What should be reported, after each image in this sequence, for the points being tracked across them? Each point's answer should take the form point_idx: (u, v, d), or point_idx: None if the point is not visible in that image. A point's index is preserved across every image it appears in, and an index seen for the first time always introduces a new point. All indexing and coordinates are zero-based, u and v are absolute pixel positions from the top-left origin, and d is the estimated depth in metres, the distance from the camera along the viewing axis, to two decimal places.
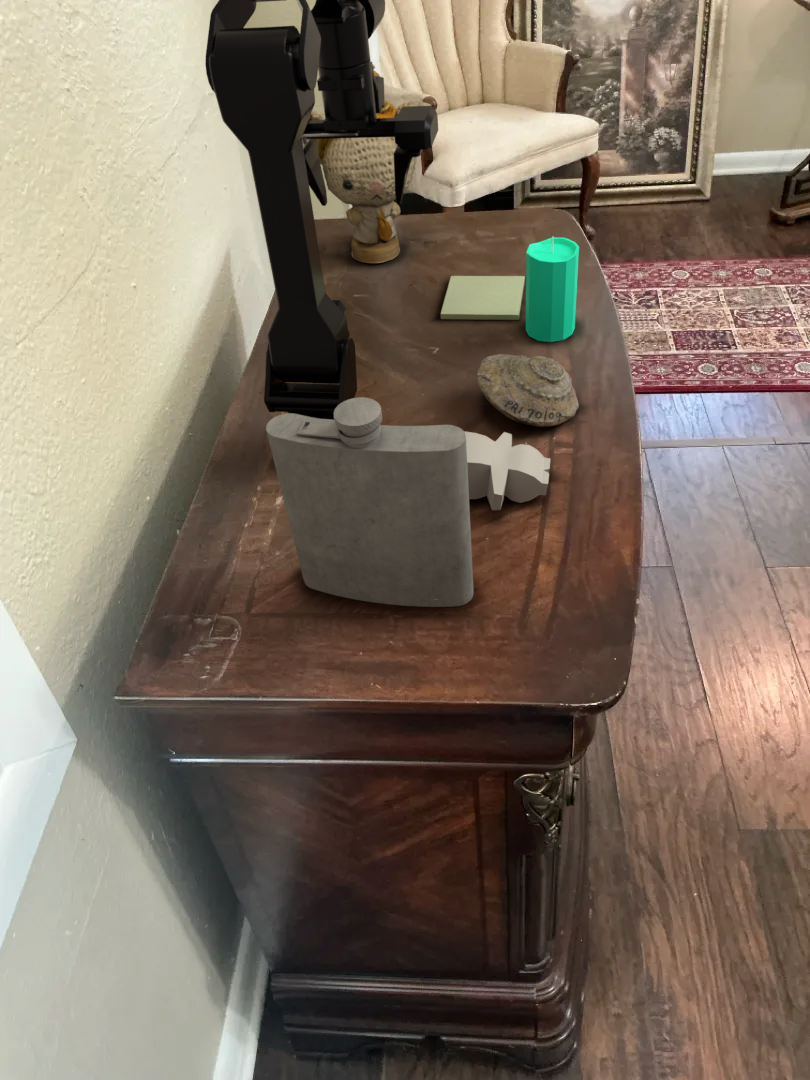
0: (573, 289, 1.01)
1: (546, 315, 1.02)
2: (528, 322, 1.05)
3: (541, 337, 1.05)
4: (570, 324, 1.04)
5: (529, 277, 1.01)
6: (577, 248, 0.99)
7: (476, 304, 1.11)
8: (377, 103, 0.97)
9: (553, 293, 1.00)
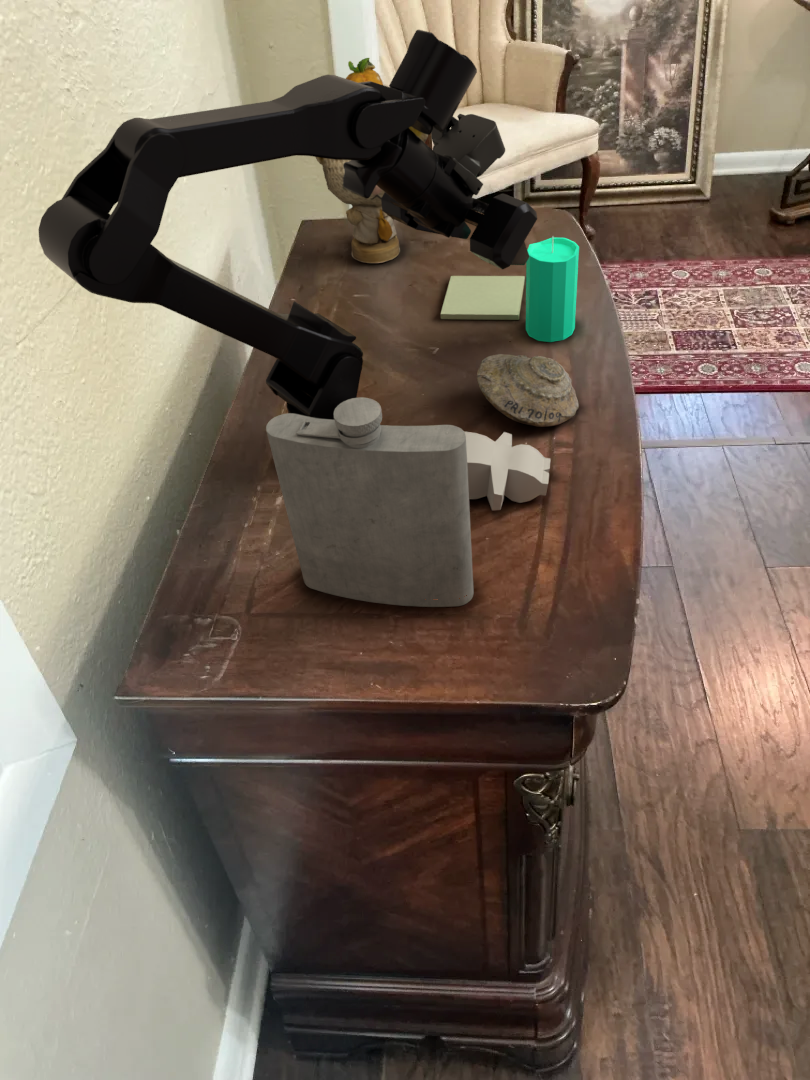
0: (573, 289, 1.01)
1: (546, 315, 1.02)
2: (528, 322, 1.05)
3: (541, 337, 1.05)
4: (570, 324, 1.04)
5: (529, 277, 1.01)
6: (577, 248, 0.99)
7: (476, 304, 1.11)
8: (470, 189, 0.85)
9: (553, 293, 1.00)
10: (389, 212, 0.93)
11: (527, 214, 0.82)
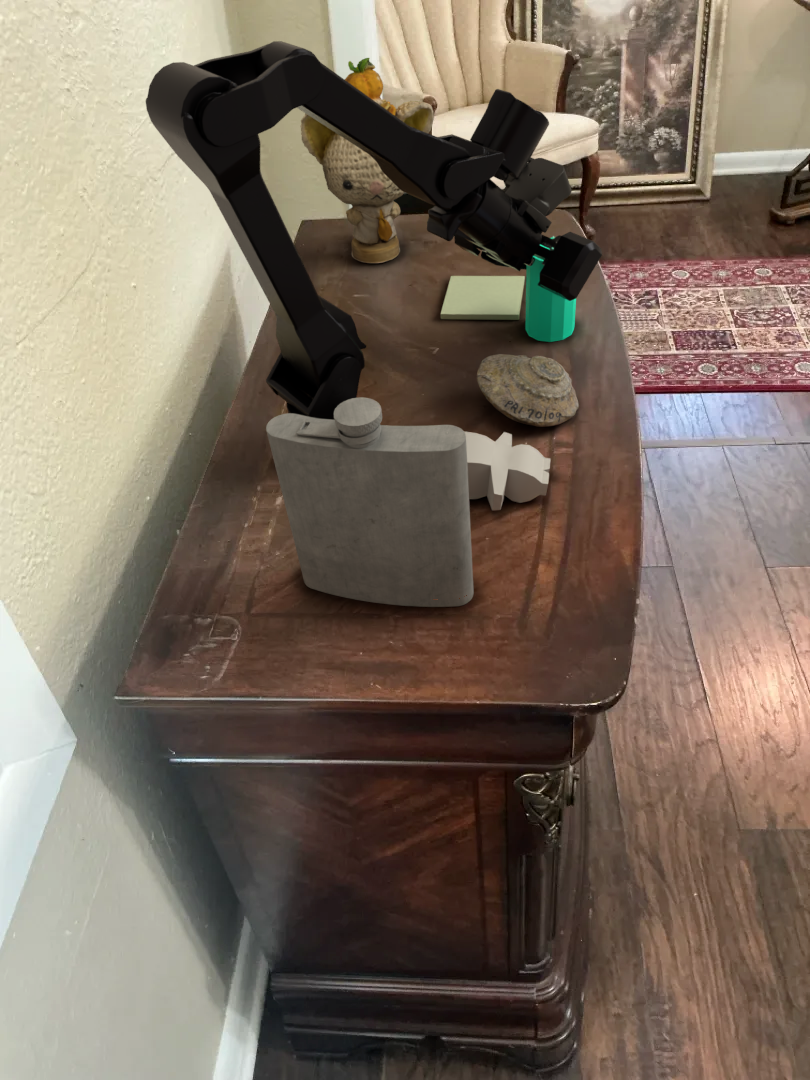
0: None
1: (546, 314, 1.02)
2: (528, 322, 1.05)
3: (541, 337, 1.05)
4: (570, 324, 1.04)
5: (529, 277, 1.01)
6: None
7: (476, 304, 1.11)
8: (539, 228, 0.93)
9: (553, 293, 1.00)
10: (461, 245, 1.01)
11: (593, 251, 0.90)
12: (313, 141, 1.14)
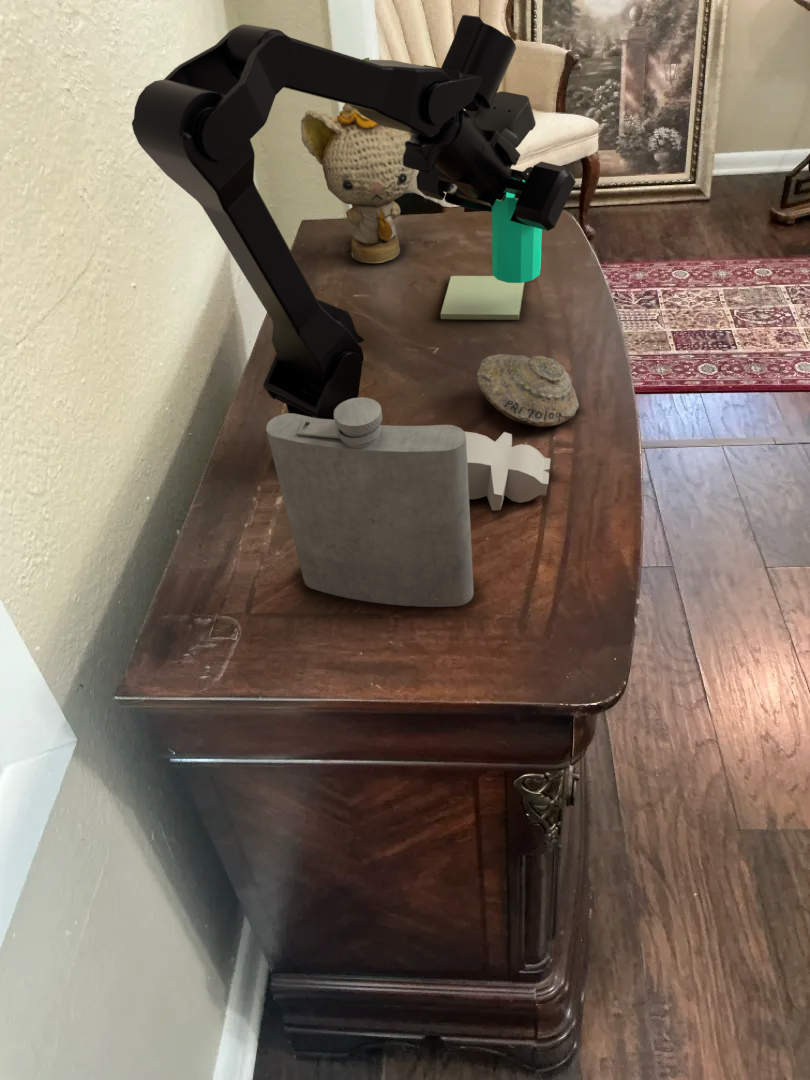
0: None
1: (515, 254, 1.02)
2: (496, 265, 1.04)
3: (511, 279, 1.04)
4: (538, 263, 1.04)
5: (496, 217, 1.00)
6: None
7: (476, 304, 1.11)
8: (510, 160, 0.92)
9: (522, 231, 1.00)
10: (425, 189, 0.99)
11: (568, 178, 0.90)
12: (313, 141, 1.14)
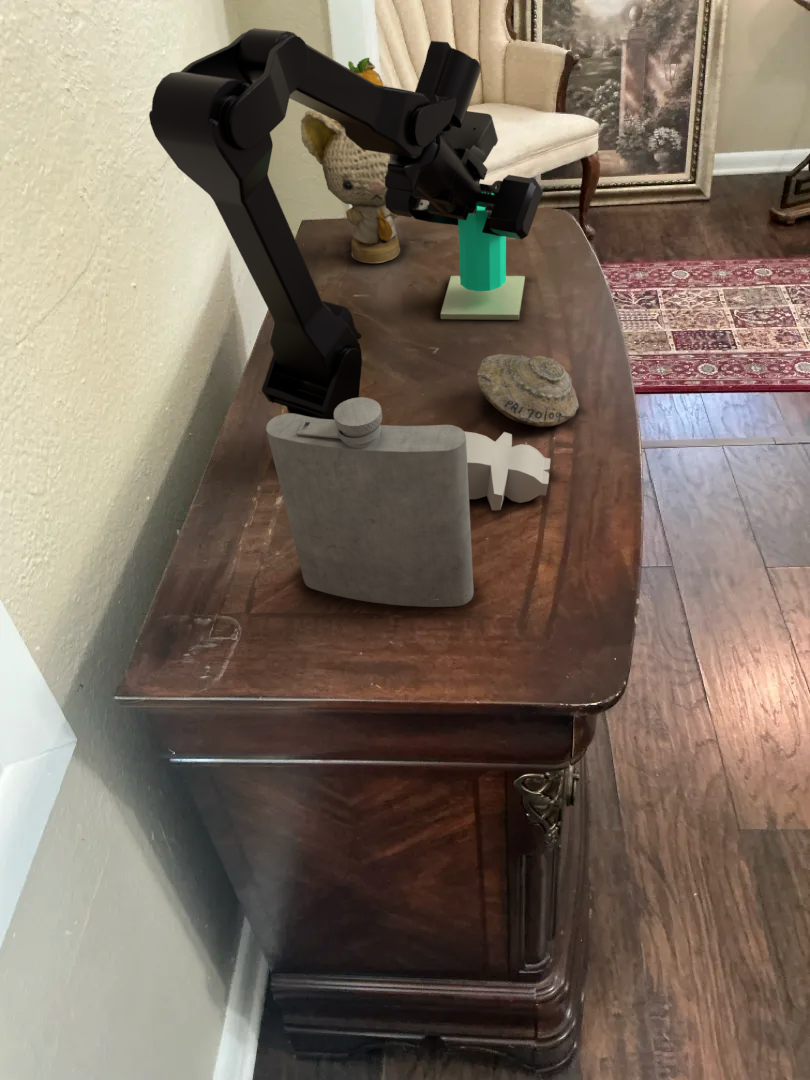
0: None
1: (484, 264, 1.06)
2: (464, 275, 1.09)
3: (480, 287, 1.09)
4: (504, 271, 1.09)
5: (463, 230, 1.05)
6: None
7: (476, 304, 1.11)
8: (479, 175, 0.97)
9: (490, 241, 1.05)
10: (395, 208, 1.03)
11: (537, 188, 0.95)
12: (313, 141, 1.14)
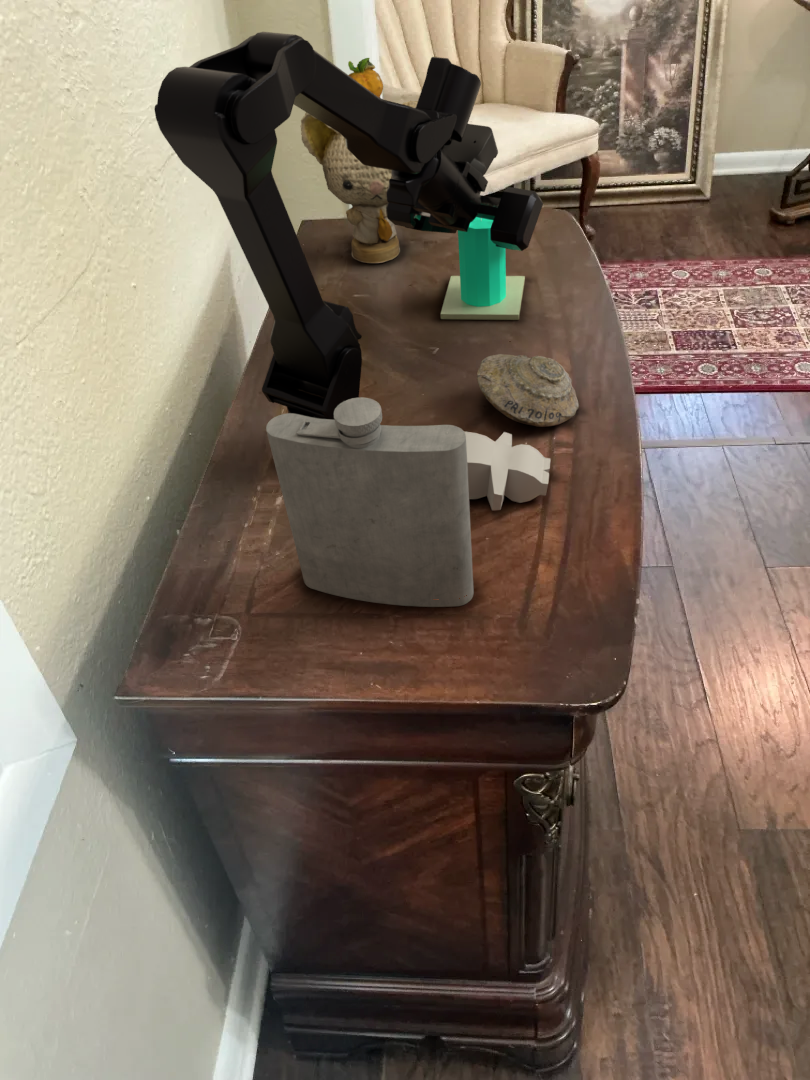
0: (504, 252, 1.07)
1: (484, 280, 1.08)
2: (465, 291, 1.10)
3: (480, 303, 1.10)
4: (504, 286, 1.10)
5: (463, 247, 1.06)
6: None
7: None
8: (479, 188, 0.98)
9: (489, 258, 1.06)
10: (396, 219, 1.04)
11: (537, 201, 0.96)
12: (313, 141, 1.14)
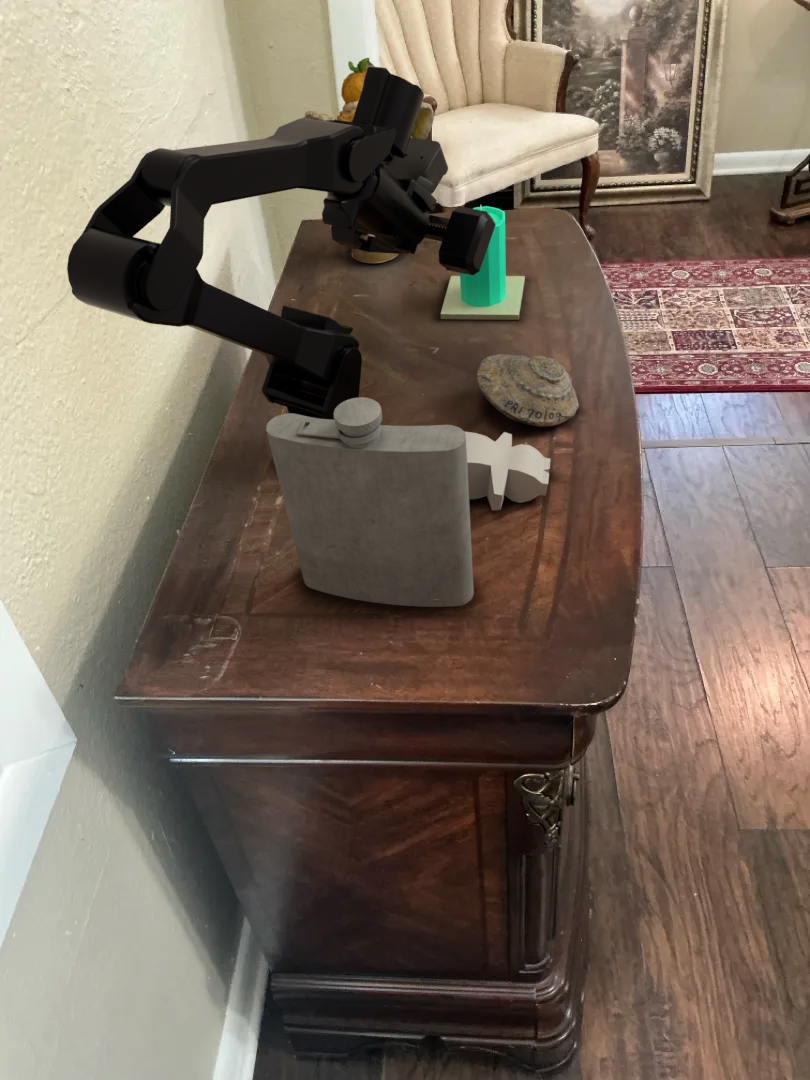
0: (504, 252, 1.07)
1: (484, 280, 1.08)
2: (465, 291, 1.10)
3: (480, 303, 1.10)
4: (504, 286, 1.10)
5: None
6: (503, 213, 1.05)
7: None
8: (427, 207, 0.90)
9: (489, 258, 1.06)
10: (341, 239, 0.97)
11: (489, 221, 0.89)
12: None
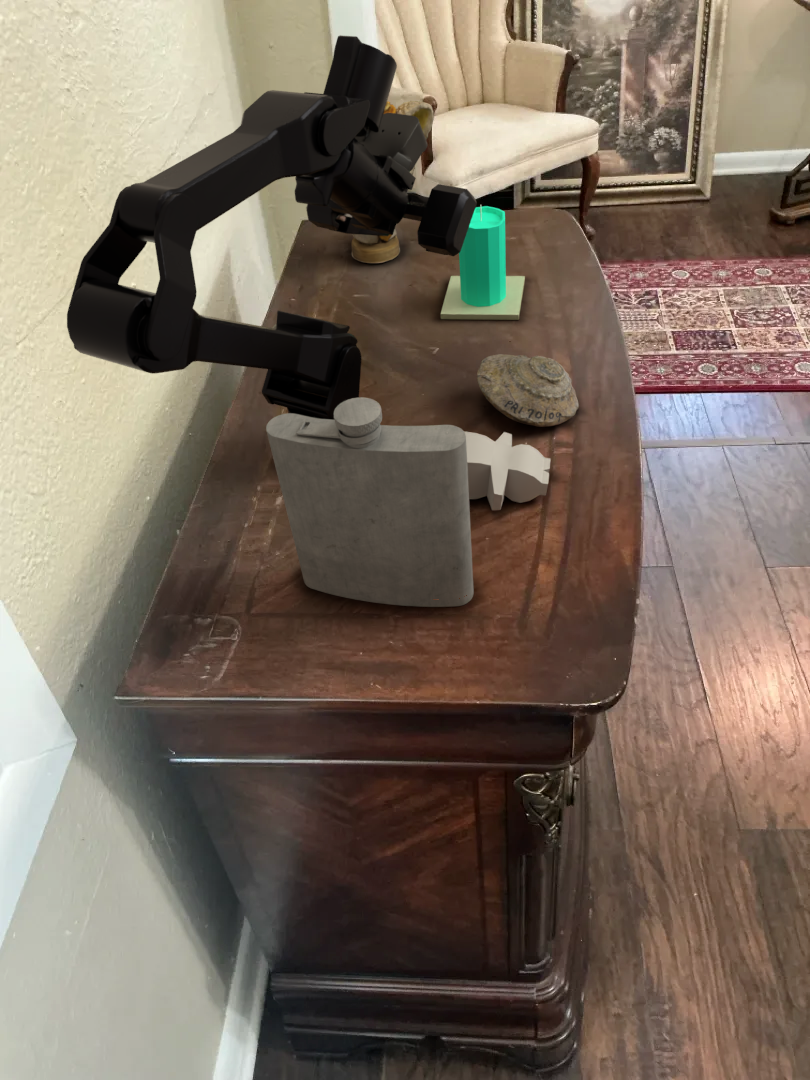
0: (504, 252, 1.07)
1: (484, 280, 1.08)
2: (465, 291, 1.10)
3: (480, 303, 1.10)
4: (504, 286, 1.10)
5: (463, 247, 1.06)
6: (503, 213, 1.05)
7: None
8: (405, 185, 0.87)
9: (489, 258, 1.06)
10: (317, 220, 0.93)
11: (469, 200, 0.85)
12: None
